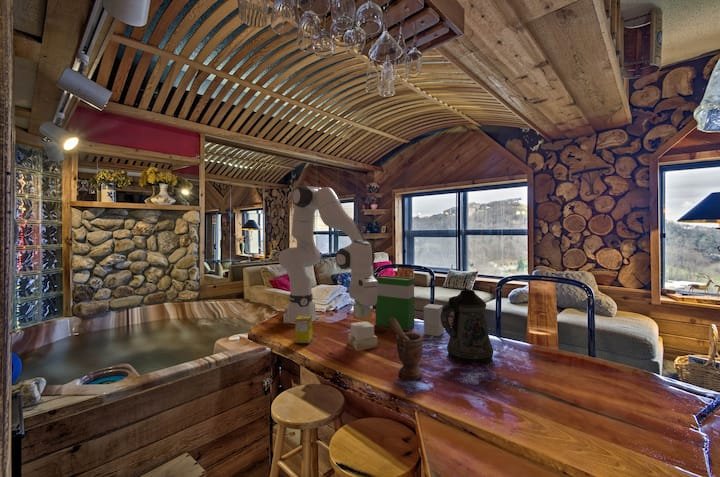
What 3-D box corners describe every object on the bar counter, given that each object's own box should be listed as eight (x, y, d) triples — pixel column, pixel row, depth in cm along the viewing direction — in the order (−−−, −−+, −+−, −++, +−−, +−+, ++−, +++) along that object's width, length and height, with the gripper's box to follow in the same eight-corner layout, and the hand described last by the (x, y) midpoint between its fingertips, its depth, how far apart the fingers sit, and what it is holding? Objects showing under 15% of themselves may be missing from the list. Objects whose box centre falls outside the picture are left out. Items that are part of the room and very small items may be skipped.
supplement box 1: (312, 339, 139) (312, 315, 139) (309, 344, 133) (308, 319, 133) (299, 339, 140) (299, 314, 139) (295, 344, 134) (294, 318, 133)
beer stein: (500, 355, 120) (500, 290, 119) (479, 373, 106) (479, 299, 105) (458, 345, 131) (458, 285, 131) (434, 359, 117) (434, 292, 116)
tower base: (348, 344, 135) (348, 333, 134) (367, 340, 139) (367, 330, 138) (357, 351, 126) (357, 340, 126) (377, 347, 130) (377, 336, 130)
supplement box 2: (444, 332, 148) (444, 305, 147) (438, 336, 141) (438, 308, 141) (428, 329, 152) (428, 303, 151) (423, 334, 145) (423, 306, 145)
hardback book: (375, 324, 160) (375, 277, 159) (382, 320, 166) (382, 275, 166) (408, 330, 151) (408, 280, 150) (414, 326, 157) (414, 277, 156)
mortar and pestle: (405, 387, 97) (405, 323, 96) (384, 378, 103) (384, 317, 103) (428, 375, 104) (428, 315, 104) (407, 367, 111) (407, 310, 110)
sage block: (354, 315, 133) (354, 303, 133) (364, 314, 135) (364, 302, 135) (359, 318, 129) (359, 306, 129) (370, 316, 131) (370, 304, 131)
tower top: (350, 333, 134) (350, 323, 134) (367, 331, 137) (367, 321, 137) (357, 339, 127) (356, 328, 127) (374, 337, 130) (374, 326, 130)
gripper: (345, 276, 140) (345, 307, 140) (365, 283, 121) (365, 319, 121) (358, 275, 142) (358, 306, 143) (380, 282, 124) (380, 317, 124)
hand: (362, 312), depth 132 cm, fingers closed on sage block, 5 cm apart
